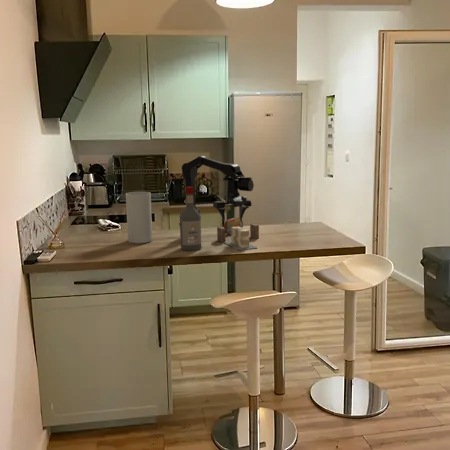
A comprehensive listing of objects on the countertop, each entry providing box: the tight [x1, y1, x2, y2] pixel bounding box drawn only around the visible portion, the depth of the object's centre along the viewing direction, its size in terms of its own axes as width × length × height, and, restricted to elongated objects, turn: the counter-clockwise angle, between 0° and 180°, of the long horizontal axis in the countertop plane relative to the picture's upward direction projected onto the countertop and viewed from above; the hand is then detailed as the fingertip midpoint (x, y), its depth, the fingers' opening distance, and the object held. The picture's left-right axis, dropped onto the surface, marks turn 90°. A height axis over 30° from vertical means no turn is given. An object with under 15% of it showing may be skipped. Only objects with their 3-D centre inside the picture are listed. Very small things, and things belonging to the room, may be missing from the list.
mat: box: [223, 240, 258, 252], centre depth 260 cm, size 10×18×1 cm, turn 24°
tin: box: [223, 216, 244, 236], centre depth 288 cm, size 15×3×8 cm, turn 143°
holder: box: [216, 223, 260, 244], centre depth 273 cm, size 21×6×7 cm, turn 114°
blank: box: [230, 226, 250, 248], centre depth 259 cm, size 12×4×8 cm, turn 24°
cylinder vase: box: [125, 191, 153, 245], centre depth 270 cm, size 12×12×25 cm
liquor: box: [179, 186, 202, 252], centre depth 252 cm, size 9×9×30 cm
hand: (232, 220), depth 263 cm, fingers open, 9 cm apart
